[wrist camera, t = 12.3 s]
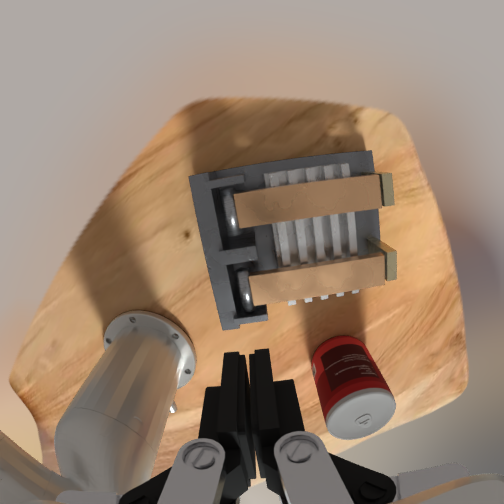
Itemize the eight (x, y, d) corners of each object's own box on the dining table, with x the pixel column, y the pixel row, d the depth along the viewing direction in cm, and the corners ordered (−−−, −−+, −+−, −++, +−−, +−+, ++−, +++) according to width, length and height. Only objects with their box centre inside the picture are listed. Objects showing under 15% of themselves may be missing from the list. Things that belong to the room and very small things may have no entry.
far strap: (380, 284, 26) (384, 290, 25) (243, 306, 27) (242, 312, 26) (379, 246, 25) (384, 250, 24) (236, 268, 26) (234, 273, 25)
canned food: (336, 388, 37) (355, 446, 26) (297, 362, 35) (310, 426, 25) (377, 352, 35) (409, 407, 25) (341, 322, 34) (370, 380, 23)
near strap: (377, 211, 24) (382, 214, 23) (229, 233, 25) (227, 236, 24) (373, 168, 23) (378, 168, 22) (220, 189, 24) (218, 190, 23)
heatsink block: (376, 274, 32) (402, 300, 25) (221, 300, 33) (214, 334, 26) (366, 150, 28) (396, 148, 21) (195, 175, 29) (178, 178, 22)
